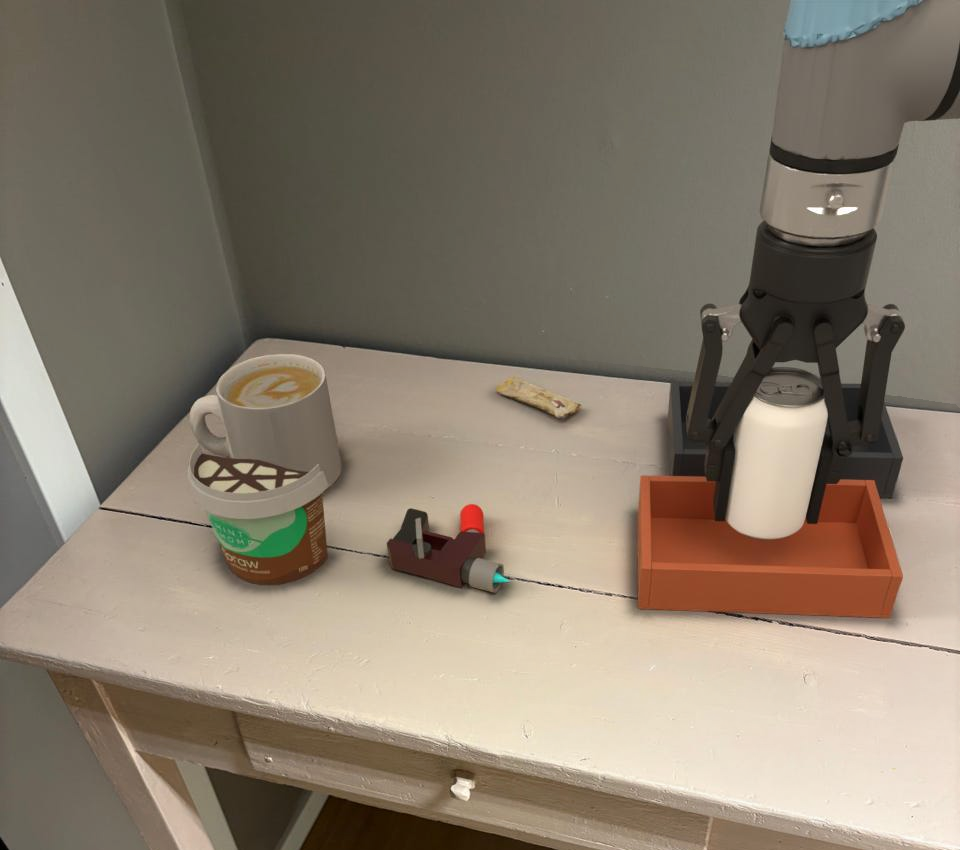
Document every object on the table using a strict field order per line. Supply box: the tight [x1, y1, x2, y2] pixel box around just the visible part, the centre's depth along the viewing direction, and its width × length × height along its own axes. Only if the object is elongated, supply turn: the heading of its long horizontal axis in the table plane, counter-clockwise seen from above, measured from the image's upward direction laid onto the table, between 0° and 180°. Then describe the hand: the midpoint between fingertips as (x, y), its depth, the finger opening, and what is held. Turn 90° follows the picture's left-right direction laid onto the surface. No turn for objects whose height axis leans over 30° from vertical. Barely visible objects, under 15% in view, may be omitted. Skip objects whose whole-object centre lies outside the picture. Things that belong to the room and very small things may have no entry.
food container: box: [187, 442, 329, 586], centre depth 83 cm, size 12×6×10 cm, turn 70°
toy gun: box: [386, 503, 511, 593], centre depth 85 cm, size 10×12×5 cm
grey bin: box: [666, 381, 904, 499], centre depth 93 cm, size 20×13×4 cm, turn 84°
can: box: [725, 366, 828, 541], centre depth 76 cm, size 6×6×12 cm
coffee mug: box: [189, 353, 343, 491], centre depth 94 cm, size 13×10×10 cm
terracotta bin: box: [637, 474, 904, 619], centre depth 82 cm, size 20×13×4 cm, turn 84°
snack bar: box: [495, 376, 582, 419], centre depth 103 cm, size 10×2×3 cm
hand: (764, 511), depth 80 cm, fingers closed on can, 6 cm apart
